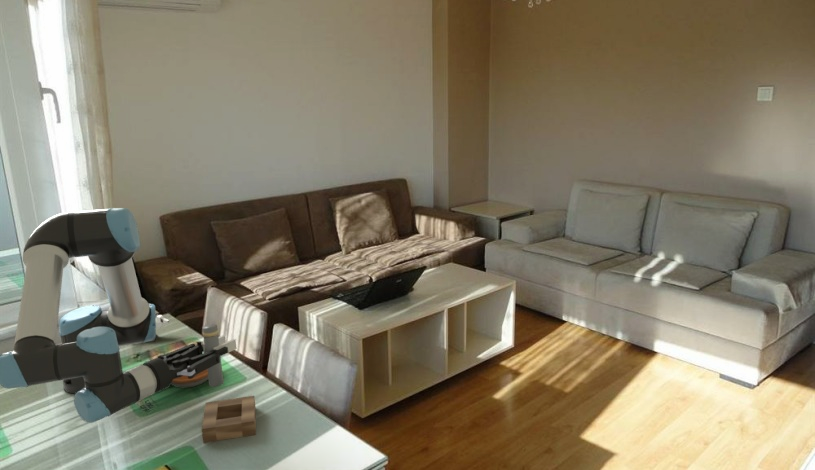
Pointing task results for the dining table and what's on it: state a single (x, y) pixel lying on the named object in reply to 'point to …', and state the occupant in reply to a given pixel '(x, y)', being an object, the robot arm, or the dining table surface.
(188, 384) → the pie
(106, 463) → the dining table surface
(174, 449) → the dining table surface
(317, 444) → the dining table surface
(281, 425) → the dining table surface
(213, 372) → the gray cylinder
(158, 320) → the giant panda
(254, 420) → the wooden square frame
